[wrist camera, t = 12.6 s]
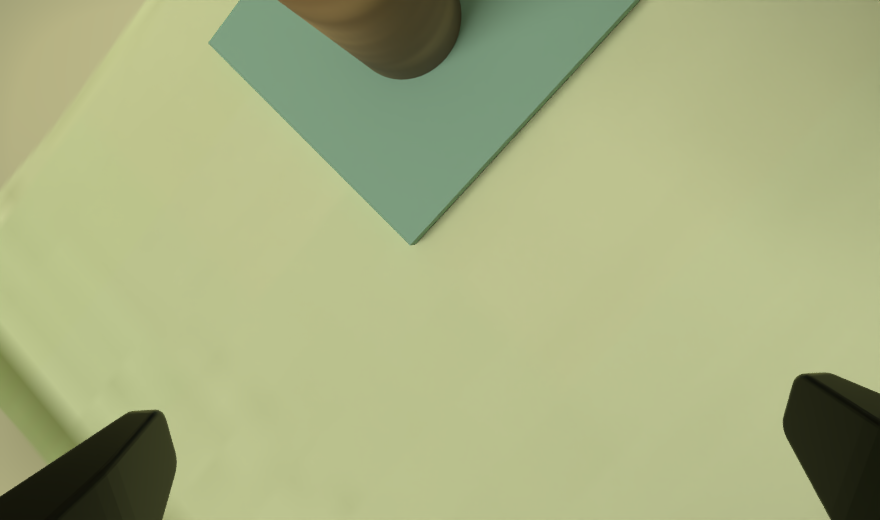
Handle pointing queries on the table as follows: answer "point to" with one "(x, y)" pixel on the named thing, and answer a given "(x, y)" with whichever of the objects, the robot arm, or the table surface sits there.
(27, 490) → the robot arm
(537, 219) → the table surface
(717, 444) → the table surface
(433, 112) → the green mat
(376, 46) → the walnut peg
